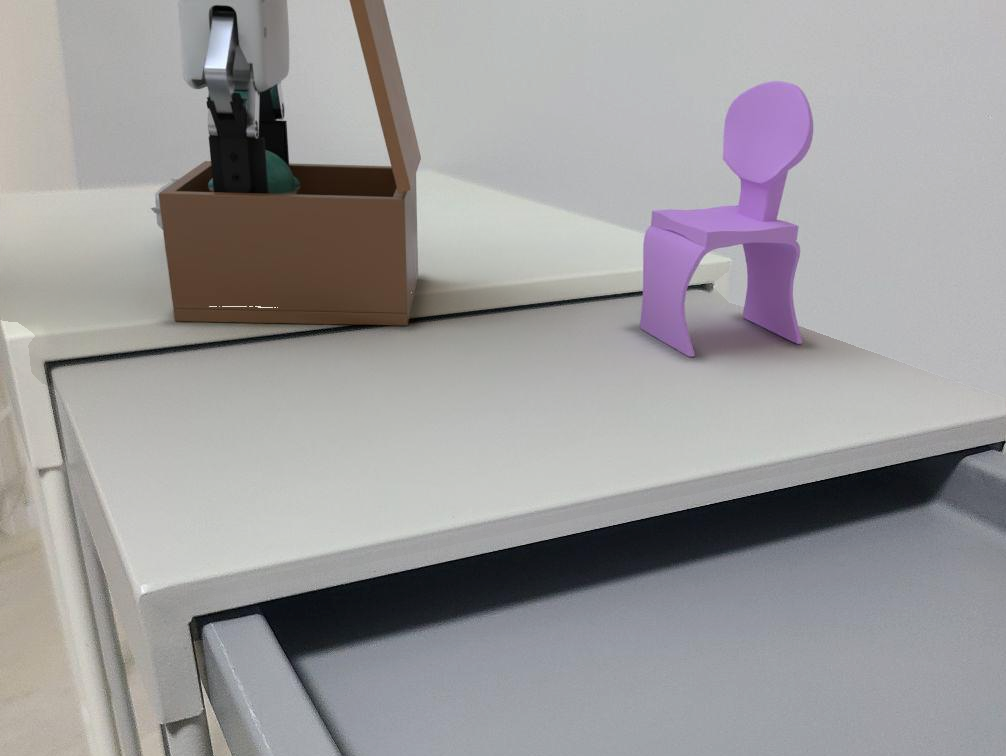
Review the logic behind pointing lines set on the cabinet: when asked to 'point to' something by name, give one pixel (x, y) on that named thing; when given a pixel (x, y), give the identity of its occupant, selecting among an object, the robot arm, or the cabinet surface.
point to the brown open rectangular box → (293, 249)
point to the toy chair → (736, 220)
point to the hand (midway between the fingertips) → (254, 191)
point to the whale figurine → (276, 176)
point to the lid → (387, 89)
